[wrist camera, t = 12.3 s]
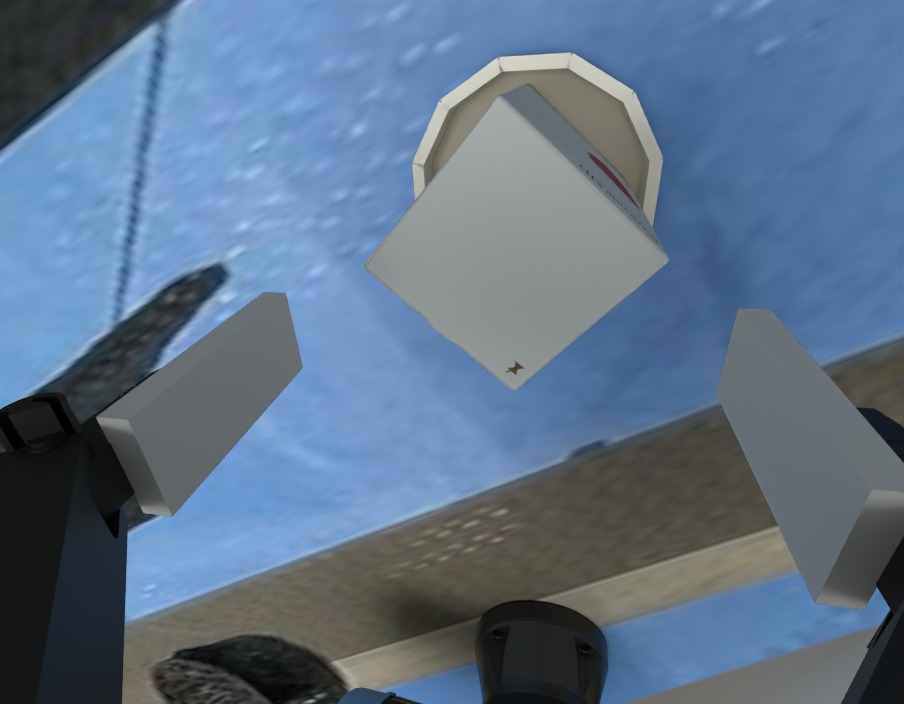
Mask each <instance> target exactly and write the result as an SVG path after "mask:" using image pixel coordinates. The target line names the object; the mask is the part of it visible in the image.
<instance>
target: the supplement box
mask: <svg viewBox="0 0 904 704" xmlns="http://www.w3.org/2000/svg"><path fill="white" fill-rule="evenodd" d="M668 262H669V258H668V256H667V255H666V252H665V250H664V248H663V246H662V245H661V243H660V241H659V239H658V237H657V235H656V233H655V232H654V230H653V228H652V226H651V224H650V223H649V221H648V219H647V217H646V215H645V213H644V212H643V210H642V208H641V206H640V204H639V202H638V200H637V199H636V197H635V195H634V193H633V191H632V189H631V187H630V185H629V183H628V181H627V180H626V179H625V178H624V177H623V176H622V175H621V174H620V173H619V172H618V171H617V170H616V169H615V168H614V167H613V166H612V164H611V163H610V162H609V161H608V160H607V159H606V158H605V157H604V156H603V155H602V154H601V153H600V152H599V151H598V150H597V149H596V148H595V147H594V146H593V145H592V144H591V143H590V142H589V141H587V140H586V139H585V138H584V137H583V136H582V135H581V134H580V133H579V132H578V131H577V130H576V129H575V128H574V127H573V126H572V125H571V124H570V123H569V122H568V121H567V120H566V119H565V118H564V117H563V116H562V115H561V114H560V113H559V112H558V111H557V110H556V109H555V108H554V107H553V106H552V105H551V104H550V103H549V102H548V101H547V100H546V99H545V98H544V97H543V96H542V95H541V94H540V93H539V92H538V91H537V90H536V89H535V88H534V87H533V86H532V85H530V84H529V83H527V84H524V85H522V86H520V87H518V88H515V89H513V90H510V91H508V92H506V93H503V94H501V95H499V96H498V97H497V98H496V99H495V101H494V102H493V103H492V104H491V106H490V107H489V108H488V110H487V111H486V112H485V113H484V115H483V116H482V117H481V118H480V120H479V121H478V122H477V123H476V125H475V126H474V127H473V128H472V130H471V131H470V132H469V133H468V135H467V136H466V137H465V138H464V140H463V141H462V142H461V143H460V145H459V146H458V147H457V148H456V150H455V151H454V152H453V153H452V155H451V156H450V157H449V158H448V160H447V161H446V162H445V163H444V165H443V166H442V167H441V168H440V170H439V171H438V172H437V173H436V175H435V176H434V177H433V178H432V180H431V181H430V182H429V184H428V185H427V186H426V187H425V189H424V190H423V191H422V192H421V194H420V195H419V196H418V197H417V199H416V200H415V201H414V202H413V204H412V205H411V206H410V207H409V209H408V210H407V211H406V212H405V214H404V215H403V216H402V218H401V219H400V220H399V221H398V223H397V224H396V225H395V226H394V228H393V229H392V230H391V231H390V233H389V234H388V235H387V236H386V238H385V239H384V240H383V241H382V243H381V244H380V245H379V246H378V248H377V249H376V250H375V251H374V253H373V254H372V255H371V256H370V258H369V259H368V260H367V262H366V263H365V265H364V267H365V269H366V270H367V271H368V272H369V273H370V274H372V275H373V276H374V277H375V278H376V279H378V280H379V281H380V282H381V283H383V284H384V285H385V286H386V287H387V288H389V289H390V290H391V291H392V292H393V293H395V294H396V295H397V296H398V297H400V298H401V299H402V300H403V301H404V302H406V303H407V304H408V305H409V306H410V307H412V308H413V309H414V310H415V311H417V312H418V313H419V314H420V315H421V316H423V317H424V318H425V319H426V320H427V321H428V322H429V323H430V324H431V325H432V326H433V327H434V328H435V330H437V331H438V332H439V333H440V334H441V335H443V336H444V337H445V338H447V339H448V340H450V341H452V342H453V343H455V344H456V345H458V346H459V347H460V348H461V349H463V350H464V351H465V352H466V353H467V354H469V355H470V356H471V357H472V358H474V359H475V360H476V361H477V362H478V363H479V364H481V365H482V366H483V367H484V368H485V369H487V370H488V371H489V372H490V373H491V374H492V375H494V376H495V377H496V378H497V379H499V380H500V381H501V382H502V383H503V384H505V385H506V386H507V387H508V388H510V389H511V390H513V391H516V390H517V389H518V388H519V387H520V386H522V385H523V384H524V383H525V382H526V381H528V380H529V379H530V378H531V377H532V376H533V375H535V374H536V373H537V372H538V371H539V370H540V369H542V368H543V367H544V366H545V365H546V364H548V363H549V362H550V361H551V360H552V359H553V358H555V357H556V356H557V355H558V354H559V353H560V352H562V351H563V350H564V349H565V348H566V347H568V346H569V345H570V344H571V343H572V342H573V341H575V340H576V339H577V338H578V337H579V336H580V335H582V334H583V333H584V332H585V331H586V330H587V329H589V328H590V327H591V326H592V325H593V324H595V323H596V322H597V321H598V320H599V319H600V318H602V317H603V316H604V315H605V314H606V313H608V312H609V311H610V310H611V309H612V308H614V307H615V306H616V305H617V304H619V303H620V302H621V301H622V300H623V299H625V298H626V297H627V296H628V295H630V294H631V293H632V292H633V291H635V290H636V289H637V288H638V287H639V286H641V285H642V284H643V283H644V282H645V281H646V280H648V279H649V278H650V277H651V276H652V275H653V274H655V273H656V272H657V271H658V270H659V269H661V268H662V267H663V266H664V265H665V264H667V263H668Z"/></svg>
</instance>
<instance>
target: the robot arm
mask: <svg viewBox="0 0 904 704" xmlns="http://www.w3.org/2000/svg"><path fill="white" fill-rule="evenodd" d="M302 368H303V366H302V361H301V357H300V353H299V348H298V344H297V340H296V335H295V331H294V326H293V322H292V318H291V313H290V309H289V305H288V300H287V296H286V293H272V292H264V293H262V294H261V295H259V296H258V297H257V298H255V299H254V300H253V301H251V302H250V303H249V304H247V305H246V306H245V307H243V308H242V309H241V310H239V311H238V312H237V313H235V314H234V315H233V316H231V317H230V318H229V319H227V320H226V321H224V322H223V323H222V324H220V325H219V326H218V327H216V328H215V329H214V330H212V331H211V332H210V333H208V334H207V335H206V336H204V337H203V338H202V339H200V340H199V341H198V342H196V343H195V344H194V345H192V346H191V347H189V348H188V349H187V350H185V351H184V352H183V353H181V354H180V355H179V356H177V357H176V358H175V359H173V360H172V361H171V362H169V363H168V364H167V365H165V366H164V367H163V368H161V369H159V370H157V371H155V372H152V373H151V374H149V375H148V376H146V377H145V378H144V379H142V380H141V381H140V382H138V383H137V384H136V387H132V388H130V389H129V390H127V391H126V392H125V393H123V396H119V397H118V398H117V399H115V400H114V401H113V402H111V403H110V404H108V405H107V406H106V407H104V408H103V409H102V410H100V411H99V412H98V413H96V414H95V415H93V416H92V417H91V418H89V419H88V420H87V421H85V422H84V423H83V424H80V423H79V421H78V419H77V417H76V415H75V413H74V411H73V409H72V407H71V405H70V403H69V401H68V400H67V398H66V396H65V395H63V394H61V393H43V394H37V395H33V396H30V397H26V398H23V399H20V400H18V401H16V402H13V403H11V404H9V405H7V406H5V407H3V408H2V409H0V442H1V443H2V445H3V447H4V448H5V450H6V451H7V452H2V453H0V704H122V683H123V653H124V623H125V593H126V563H127V533H128V516H127V513H126V511H125V509H124V507H123V504H124V503H125V502H126V501H127V500H128V499H129V498H130V497H131V496H132V495H133V494H134V495H135V497H136V499H137V501H138V503H139V505H140V507H141V509H142V511H143V513H148V514H156V515H163V516H171V517H173V515H174V514H175V513H176V512H177V511H178V510H179V509H180V507H181V506H182V505H183V504H184V503H185V502H186V501H187V499H188V498H189V497H190V496H191V495H192V494H193V493H194V491H195V490H196V489H197V488H198V487H199V486H200V485H201V483H202V482H203V481H204V480H205V479H206V478H207V477H208V475H209V474H210V473H211V472H212V471H213V470H214V469H215V467H216V466H217V465H218V464H219V463H220V462H221V461H222V459H223V458H224V457H225V456H226V455H227V454H228V453H229V451H230V450H231V449H232V448H233V447H234V446H235V445H236V443H237V442H238V441H239V440H240V439H241V438H242V437H243V435H244V434H245V433H246V432H247V431H248V430H249V429H250V427H251V426H252V425H253V424H254V423H255V422H256V421H257V419H258V418H259V417H260V416H261V415H262V414H263V413H264V411H265V410H266V409H267V408H268V407H269V406H270V405H271V403H272V402H273V401H274V400H275V399H276V398H277V397H278V395H279V394H280V393H281V392H282V391H283V390H284V389H285V387H286V386H287V385H288V384H289V383H290V382H291V381H292V379H293V378H294V377H295V376H296V375H297V374H298V373H299V371H300V370H301V369H302ZM716 395H717V397H718V399H719V401H720V403H721V405H722V408H723V410H724V412H725V414H726V416H727V418H728V420H729V422H730V424H731V427H732V429H733V431H734V433H735V435H736V437H737V439H738V441H739V444H740V446H741V448H742V450H743V452H744V454H745V456H746V458H747V461H748V463H749V465H750V467H751V469H752V471H753V473H754V475H755V477H756V480H757V482H758V484H759V486H760V488H761V490H762V492H763V494H764V497H765V499H766V501H767V503H768V505H769V507H770V509H771V511H772V513H773V516H774V518H775V520H776V522H777V524H778V526H779V528H780V530H781V533H782V535H783V537H784V539H785V541H786V543H787V545H788V547H789V549H790V552H791V554H792V556H793V558H794V560H795V562H796V564H797V566H798V569H799V571H800V573H801V575H802V577H803V579H804V581H805V583H806V585H807V588H808V590H809V592H810V594H811V596H812V598H813V600H814V602H815V603H818V604H825V605H832V606H840V607H847V608H855V609H862V610H864V609H865V607H866V605H867V603H868V602H869V600H870V598H871V597H872V595H873V593H874V592H875V590H876V588H878V589H879V591H880V593H881V594H882V596H883V597H884V599H885V601H886V602H887V604H888V606H889V607H890V611H889V613H888V614H887V616H886V617H885V619H884V621H883V622H882V624H881V625H880V627H879V628H878V630H877V632H876V633H875V635H874V637H873V638H872V640H871V641H870V643H869V645H868V646H867V648H868V649H869V650H868V652H867V654H866V656H865V658H864V660H863V662H862V664H861V665H860V668H859V669H858V671H857V673H856V675H855V677H854V679H853V681H852V683H851V685H850V687H849V689H848V691H847V693H846V695H845V697H844V699H843V701H842V703H841V704H904V428H903V427H902V426H901V425H900V424H898V423H897V422H895V421H893V420H892V419H890V418H889V417H887V416H885V415H884V414H882V413H881V412H879V411H877V410H876V409H871V408H856V407H855V406H854V405H853V404H852V403H851V402H850V401H849V399H848V398H847V397H846V396H845V395H844V394H843V392H842V391H841V390H840V389H839V388H838V387H837V386H836V384H835V383H834V382H833V381H832V380H831V379H830V377H829V376H828V375H827V374H826V373H825V372H824V371H823V369H822V368H821V367H820V366H819V365H818V364H817V362H816V361H815V360H814V359H813V358H812V357H811V355H810V354H809V353H808V352H807V351H806V350H805V349H804V347H803V346H802V345H801V344H800V343H799V342H798V340H797V339H796V338H795V337H794V336H793V335H792V334H791V332H790V331H789V330H788V329H787V328H786V327H785V325H784V324H783V323H782V322H781V321H780V320H779V319H778V317H777V316H776V315H775V314H774V313H773V312H772V310H771V309H754V308H738V312H737V315H736V319H735V323H734V327H733V331H732V335H731V339H730V343H729V346H728V350H727V354H726V358H725V362H724V366H723V370H722V373H721V377H720V381H719V385H718V389H717V393H716ZM475 652H476V659H477V666H478V672H479V679H480V686H481V692H482V699H483V704H599V703H600V699H601V695H602V692H603V688H604V684H605V680H606V676H607V672H608V656H607V644H606V641H605V638H604V637H603V635H602V633H601V632H600V631H599V629H598V628H597V627H596V626H595V625H594V624H592V623H591V622H590V621H589V620H587V619H586V618H584V617H583V616H581V615H579V614H577V613H575V612H573V611H571V610H568V609H565V608H563V607H559V606H556V605H552V604H547V603H541V602H513V603H508V604H504V605H500V606H498V607H495V608H493V609H491V610H490V611H488V612H487V613H486V614H485V615H484V616H483V617H482V618H481V620H480V622H479V624H478V629H477V635H476V642H475ZM338 704H422V703H418V702H415V701H412V700H409V699H406V698H403V697H399V696H396V693H393V692H388V693H383V692H379V691H375V690H371V689H367V688H355V689H353V690H351V691H350V692H348V693H347V694H346V695H345V696H344V697H343V698H342V699H341V700H340V701H339V703H338Z"/></svg>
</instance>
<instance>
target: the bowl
mask: <svg viewBox="0 0 904 704" xmlns="http://www.w3.org/2000/svg"><path fill="white" fill-rule="evenodd" d="M527 83H529V84H530V85H532V86H533V87H534V88H535V89H536V90H537V91H538V92H539V93H540V94H541V95H542V96H543V97H544V98H545V99H546V100H547V101H548V102H549V103H550V104H551V105H552V106H553V107H554V108H555V109H556V110H557V111H558V112H559V113H560V114H561V115H562V116H563V117H564V118H565V119H566V120H567V121H568V122H569V123H570V124H571V125H572V126H573V127H574V128H575V129H576V130H577V131H578V132H579V133H580V134H581V135H582V136H583V137H584V138H585V139H586V140H587V141H589V142H590V143H591V144H592V145H593V146H594V147H595V148H596V149H597V150H598V151H599V152H600V153H601V154H602V155H603V156H604V157H605V158H606V159H607V160H608V161H609V162H610V163H611V164H612V166H613V167H614V168H615V169H616V170H617V171H618V172H619V173H620V174H621V175H622V176H623V177H624V178H625V179H626V180H627V181H628V183H629V185H630V187H631V189H632V191H633V193H634V195H635V197H636V199H637V200H638V202H639V204H640V206H641V208H642V210H643V212H644V213H645V215H646V217H647V219H648V221H649V223H650V224H651V226H653V222H654V216H655V209H656V203H657V196H658V190H659V183H660V177H661V170H662V164H663V158H662V157H663V156H662V154H661V151H660V149H659V147H658V144H657V142H656V140H655V137H654V135H653V133H652V130H651V128H650V126H649V123H648V121H647V119H646V116H645V114H644V112H643V109H642V107H641V105H640V102H639V100H638V98H637V95H636V93H635V92H634V91H633V90H632V89H630V88H629V87H627V86H625V85H624V84H622V83H621V82H619V81H617V80H616V79H614V78H613V77H611V76H609V75H608V74H606V73H604V72H603V71H601V70H600V69H598V68H596V67H595V66H593V65H592V64H590V63H588V62H587V61H585V60H584V59H582V58H580V57H579V56H577V55H575V54H574V53H573V54H572V56H571V53H556V54H540V55H523V56H507V57H499V58H496V59H495V60H493V61H492V62H491V63H489V64H488V65H487V66H485V67H484V68H483V69H481V70H480V71H479V72H477V73H476V74H474V75H473V76H472V77H470V78H469V79H468V80H466V81H465V82H464V83H462V84H461V85H460V86H458V87H457V88H455V89H454V90H453V91H451V92H450V93H449V94H447V95H446V96H445V97H443V98H442V99H441V101H439V103H438V105H437V107H436V109H435V112H434V114H433V116H432V119H431V121H430V123H429V125H428V128H427V130H426V132H425V135H424V137H423V139H422V142H421V144H420V146H419V148H418V151H417V153H416V155H415V158H414V160H413V164H412V168H413V180H414V192H415V200H416V199H417V197H418V196H419V195H420V194H421V192H422V191H423V190H424V189H425V187H426V186H427V185H428V184H429V182H430V181H431V180H432V178H433V177H434V176H435V175H436V173H437V172H438V171H439V170H440V168H441V167H442V166H443V165H444V163H445V162H446V161H447V160H448V158H449V157H450V156H451V155H452V153H453V152H454V151H455V150H456V148H457V147H458V146H459V145H460V143H461V142H462V141H463V140H464V138H465V137H466V136H467V135H468V133H469V132H470V131H471V130H472V128H473V127H474V126H475V125H476V123H477V122H478V121H479V120H480V118H481V117H482V116H483V115H484V113H485V112H486V111H487V110H488V108H489V107H490V106H491V104H492V103H493V102H494V101H495V99H496V98H497V97H498V96H499V95H501V94H503V93H506V92H508V91H510V90H513V89H515V88H518V87H520V86H522V85H524V84H527Z"/></svg>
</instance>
